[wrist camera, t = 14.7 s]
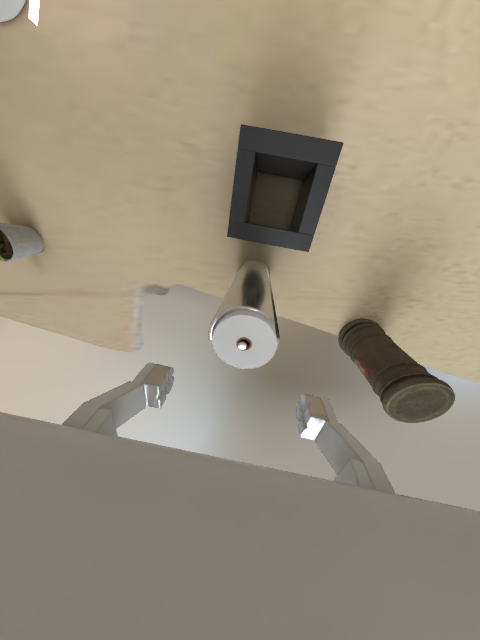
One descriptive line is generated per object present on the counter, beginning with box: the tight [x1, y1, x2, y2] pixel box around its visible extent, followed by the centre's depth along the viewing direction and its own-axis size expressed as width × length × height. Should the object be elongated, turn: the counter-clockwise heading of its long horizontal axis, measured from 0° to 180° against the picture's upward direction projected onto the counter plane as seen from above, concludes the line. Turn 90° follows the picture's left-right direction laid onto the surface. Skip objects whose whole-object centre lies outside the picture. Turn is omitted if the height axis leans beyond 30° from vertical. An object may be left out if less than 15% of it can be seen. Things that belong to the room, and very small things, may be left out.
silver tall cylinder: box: [209, 260, 280, 369], centre depth 27 cm, size 6×6×25 cm
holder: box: [227, 125, 343, 252], centre depth 28 cm, size 12×12×9 cm
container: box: [339, 319, 455, 423], centre depth 33 cm, size 9×9×18 cm
